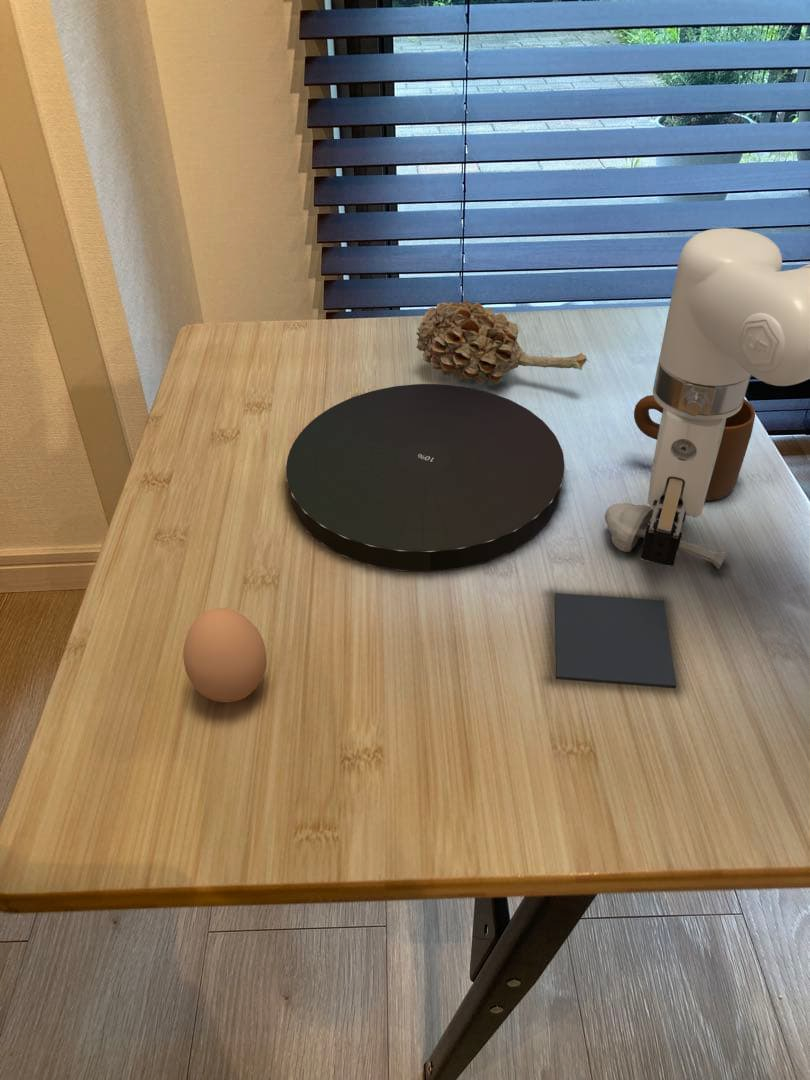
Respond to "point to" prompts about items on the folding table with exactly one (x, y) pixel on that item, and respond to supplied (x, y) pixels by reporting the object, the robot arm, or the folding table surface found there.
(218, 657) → the egg
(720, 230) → the robot arm
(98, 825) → the folding table surface
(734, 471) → the mug
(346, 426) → the disc
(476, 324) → the pine cone
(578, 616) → the coaster
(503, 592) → the folding table surface
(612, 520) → the mushroom
